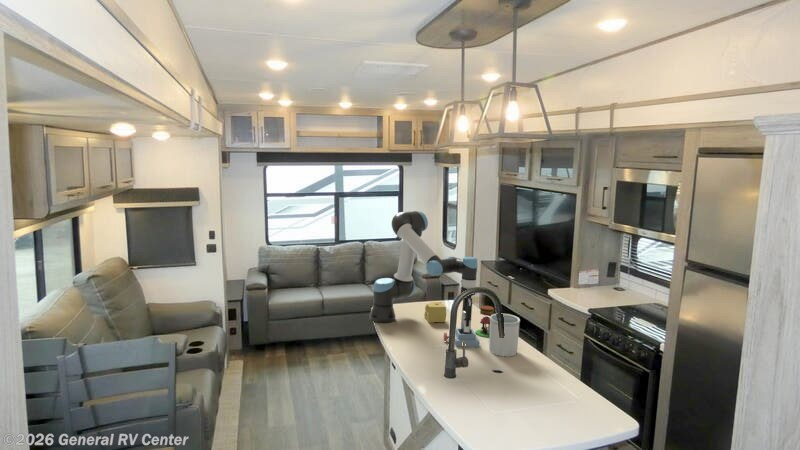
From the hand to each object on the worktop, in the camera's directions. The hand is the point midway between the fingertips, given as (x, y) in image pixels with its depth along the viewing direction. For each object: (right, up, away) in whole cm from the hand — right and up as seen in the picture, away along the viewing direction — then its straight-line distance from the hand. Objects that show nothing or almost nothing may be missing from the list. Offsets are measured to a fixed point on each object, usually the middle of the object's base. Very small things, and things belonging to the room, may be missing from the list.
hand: (465, 329), depth 257 cm
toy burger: (+13, -5, +14) cm, 19 cm away
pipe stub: (0, -2, 0) cm, 2 cm away
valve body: (-3, -7, +1) cm, 7 cm away
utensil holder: (+17, -9, -10) cm, 22 cm away
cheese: (-14, -2, +33) cm, 36 cm away
